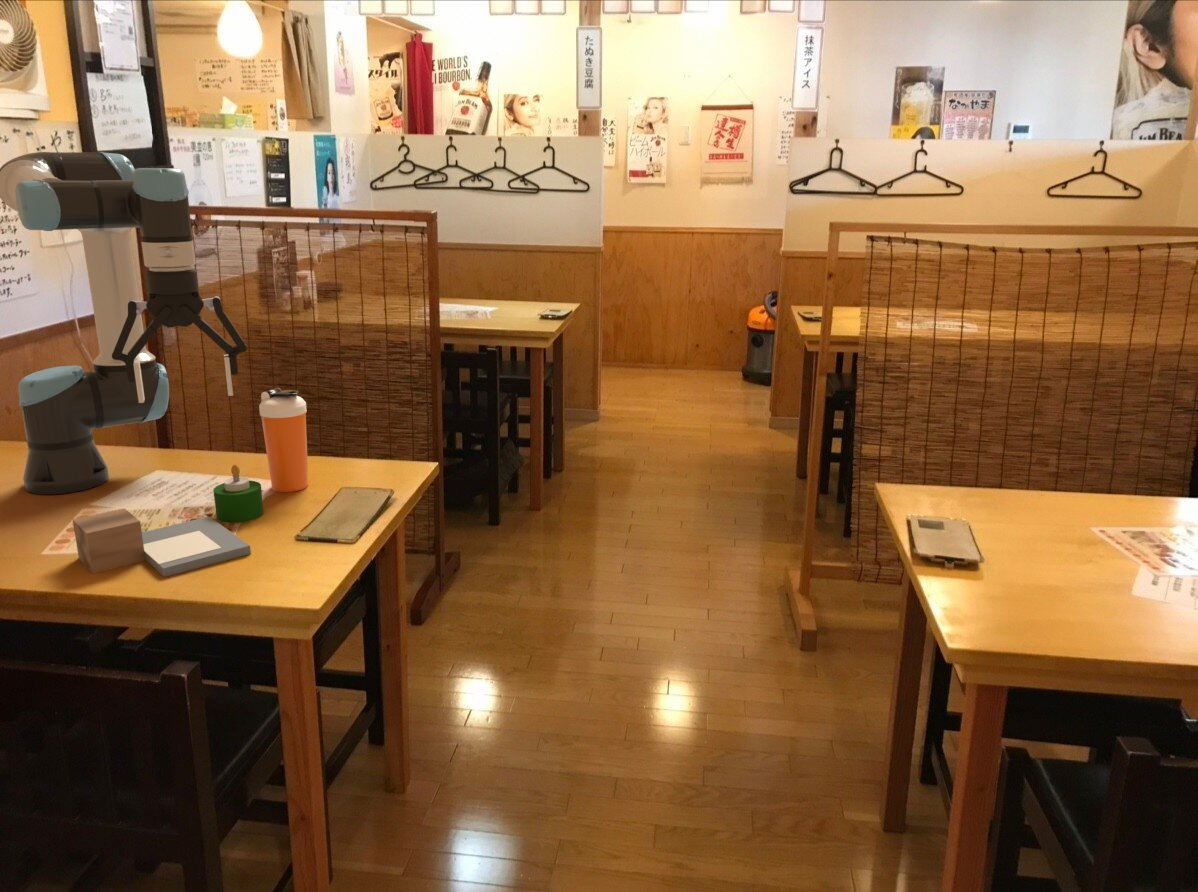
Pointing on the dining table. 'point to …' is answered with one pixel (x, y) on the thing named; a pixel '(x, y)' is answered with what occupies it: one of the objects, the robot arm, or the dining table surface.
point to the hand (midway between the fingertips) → (186, 397)
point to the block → (109, 540)
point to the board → (191, 546)
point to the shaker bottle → (285, 438)
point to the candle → (238, 499)
